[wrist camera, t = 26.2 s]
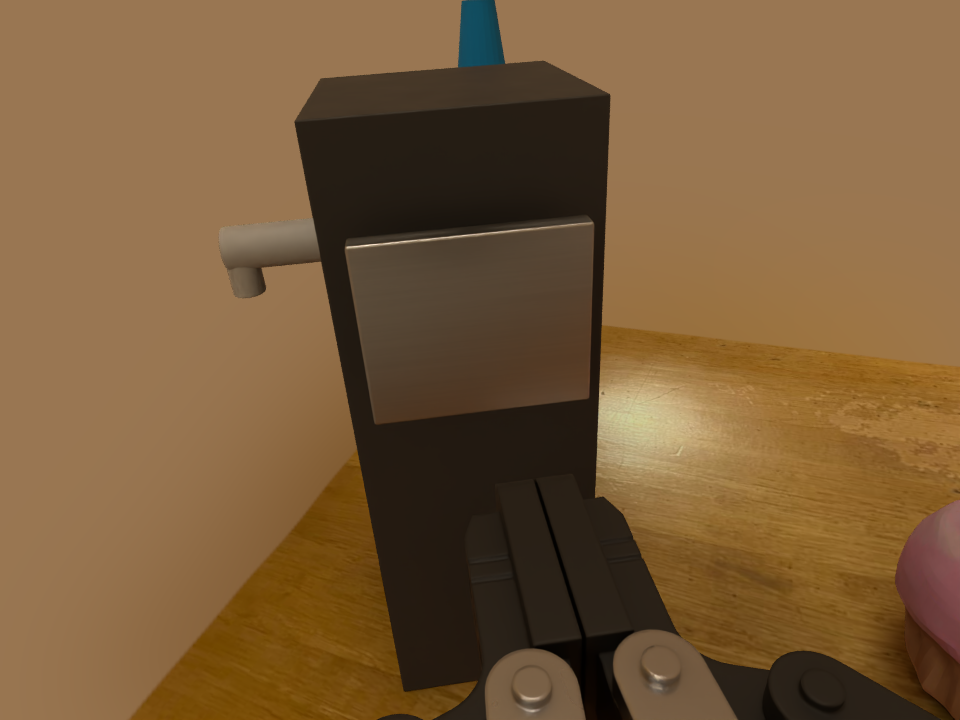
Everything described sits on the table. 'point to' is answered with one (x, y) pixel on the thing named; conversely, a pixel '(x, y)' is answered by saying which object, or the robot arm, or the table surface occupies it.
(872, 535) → the table surface
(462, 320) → the plate
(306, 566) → the table surface
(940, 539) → the cupcake
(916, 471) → the table surface
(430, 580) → the soap dispenser
